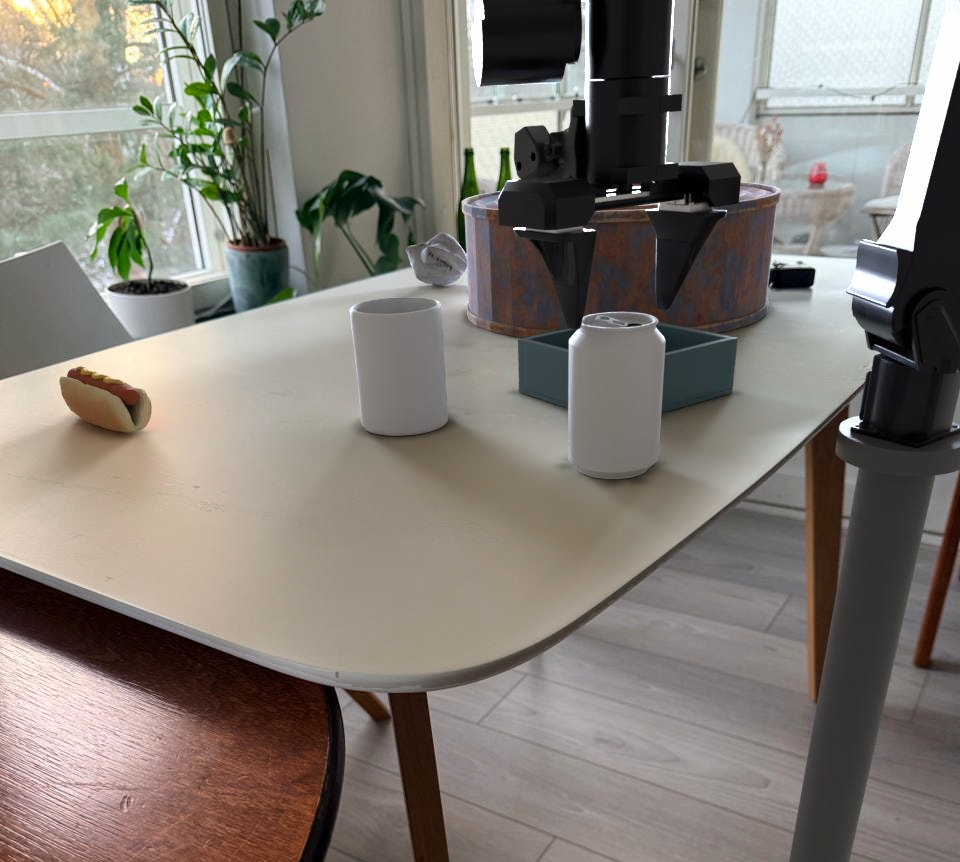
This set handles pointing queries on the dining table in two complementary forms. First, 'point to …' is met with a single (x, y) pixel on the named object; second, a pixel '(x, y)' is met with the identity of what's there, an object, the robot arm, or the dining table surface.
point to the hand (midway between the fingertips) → (619, 318)
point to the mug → (400, 365)
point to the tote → (687, 366)
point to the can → (615, 394)
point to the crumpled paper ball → (438, 260)
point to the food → (105, 400)
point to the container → (623, 269)
